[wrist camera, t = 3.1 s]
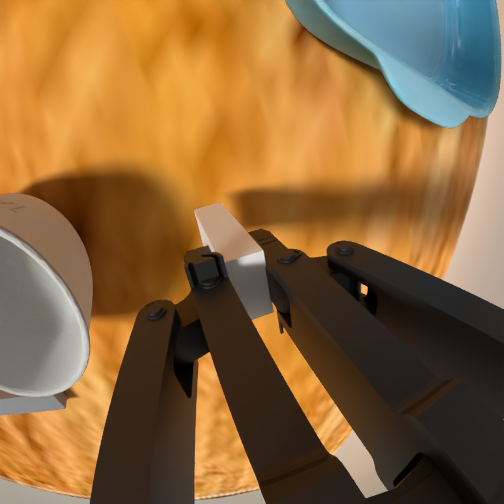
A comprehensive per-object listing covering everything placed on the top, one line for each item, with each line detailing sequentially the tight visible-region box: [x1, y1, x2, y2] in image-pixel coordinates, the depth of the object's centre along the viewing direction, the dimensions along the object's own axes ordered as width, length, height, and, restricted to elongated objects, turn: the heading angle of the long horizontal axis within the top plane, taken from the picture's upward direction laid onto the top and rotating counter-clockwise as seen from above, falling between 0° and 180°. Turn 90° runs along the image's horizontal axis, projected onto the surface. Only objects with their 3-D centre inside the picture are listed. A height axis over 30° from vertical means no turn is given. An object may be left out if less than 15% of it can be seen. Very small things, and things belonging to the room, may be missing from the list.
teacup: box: [0, 193, 93, 397], centre depth 12 cm, size 14×11×8 cm
